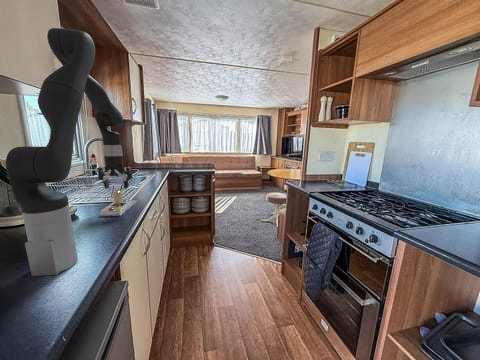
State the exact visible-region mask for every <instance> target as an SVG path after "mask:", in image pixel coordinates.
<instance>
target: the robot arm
mask: <svg viewBox="0 0 480 360" xmlns="http://www.w3.org/2000/svg"><path fill="white" fill-rule="evenodd" d="M46 39H47V41H48V45H49V47H50V49H51V51H52V53H53V55H54V56H55V58H57V60H58V62H59V63H61V65H62V66H60V67H58V68H57V69H56V70H54V71H52V72H51V73H50V74H49V75H48V76H47V77H46V78H45V79H44V80H43V82H42V84H41V87H40V90H39V94H38V95H37V96H38V97H37V104H38V107H39V110H40V112H41V114H42V115H43V117H44V120H45V121H46V122H47V124H48V126H49V129H50V134H49V139H48V142H47V145H46V146H34V145H33V146H31V145H30V146H16V147H13V148H11V149H10V150H9V151H8V152H7V155H6V157H5V170H6V174H7V177H8V180H9V181H8V182H9V184H10V188H11V190H12V194H13V197H14V200H15V202H16V203H17V205H19V207H20V210H21V214H22V218H23V219H22V220H23V222H24V223H23V224H24V229H25V232H26V237H27V241H26V242H25V243H24V245H25V251H26V255H27V259H28V260H27V261H28V264H29V268H30V269H29V270H30V272H31V273H30V274H31V277H39V276H57V275H58V274H60V273H62V272H64V271H66V270H68V269H70V268H71V267H74V266H75V264H77V262H78V261H79V257H78V252H77V247H76V240H75V234H74V227H73V221H72V215H71V209H70V204H69V197H68V195H67V194H65V193H64V192H60V191H57V190H54V189H53V188H51V187H49V186H48V185H47V184H46V183H50V184H51V183H52V184H53V183H60V182H63V181H65V180H66V179H67V177H68V176H69V174H70V171H71V167H72V163H73V162H72V161H73V151H74V143H75V142H74V140H75V133H76V128H77V123H78V118H79V115H80V112H81V108H82V104H83V98H84V94H85V96H86V98H87V99H88V101H89V102H90V104H91V106H92V108H93V109H94V110H95V111H96V112H95V114H94V119H95V122H96V124H97V126H98V128H99V131H100V134H101V137H102V145H103V146H102V147H103V148H102V152H103V159H104V166H99V167H98V168H97V174H98V175H97V177H98V180H99V181H103V186H104V188H105V190H106V189H107V190H108V189H110V183H109V179H110V178H111V177H120V178H121V179H122V180H123V188H124V189H128V188H129V181H130V180H132V179H133V173H132V167H131V166H127V167H126V166H124V159H123V158H124V156H123V148H122V143H121V142H122V141H121V134H120V133H119V132H117V131H112V130H111V129H109V127H121V126H122V125H123V123H124V116H123V114H122V113H121V112H120V111H119V109H118V108H117V107H116V105H114V103H113V102H112V101H111V99H110V97H109V95H108V93H107V91H106V89H105V88H104V86H103V85H101V84H100V82H98V81H97V80H96V79H94V78H93V76H91V75H90V72H91V71H92V68H93V65H94V63H95V59H96V58H95V57H96V45H95V42H94V40H93V38H92V36H90V34H89V33H87V32H86V31H82V30H78V29H70V28H60V27H58V28H57V27H53V28H50V29H48V31H47V37H46ZM124 171H125V172H126V173H125V172H124ZM104 172H106V174H104Z"/></svg>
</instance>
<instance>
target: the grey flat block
mask: <svg viewBox="0 0 480 360" xmlns="http://www.w3.org/2000/svg"><path fill="white" fill-rule="evenodd" d="M122 200H123V206H115V205H114V201H113V202H112V203H110V204H109V205H107V206H106V207H104V208H103V209H101V210H99V216H100V217H114V216H117V217H119V216H122V215H123V214H124V213H125V212H126V211H128V210H129V209H130V208H131V207H132V206H133V205H135V204H136V203H137V199H122Z"/></svg>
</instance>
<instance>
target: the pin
mask: <svg viewBox="0 0 480 360" xmlns="http://www.w3.org/2000/svg"><path fill="white" fill-rule="evenodd" d="M122 192H123V191H122V190H115V191H113V192H112V196H113V202H114V205H115V206H123V200H124V199H123V193H122Z"/></svg>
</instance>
